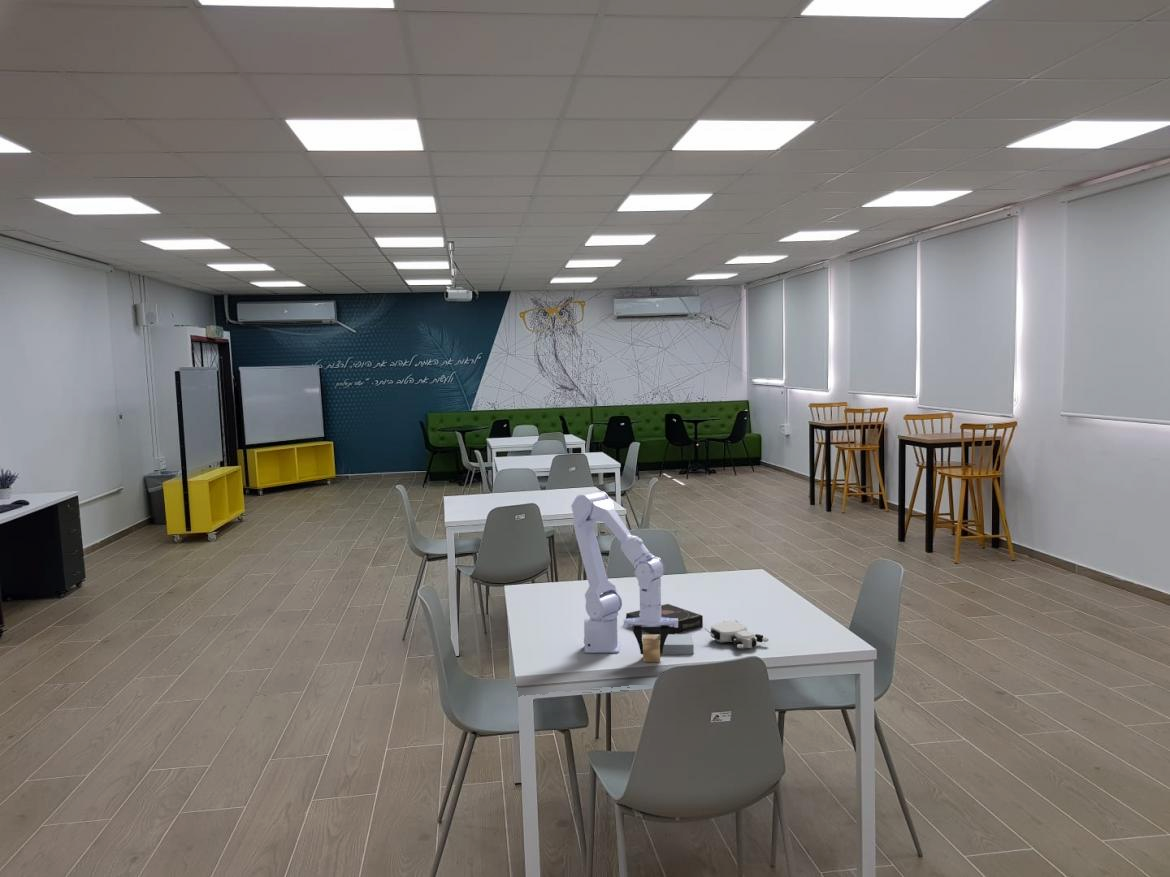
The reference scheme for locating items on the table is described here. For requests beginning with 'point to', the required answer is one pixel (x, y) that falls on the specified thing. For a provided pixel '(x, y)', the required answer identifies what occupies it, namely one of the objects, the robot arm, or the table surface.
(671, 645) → the slate base
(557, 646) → the table surface
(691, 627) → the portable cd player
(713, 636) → the robot toy
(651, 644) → the oak block
